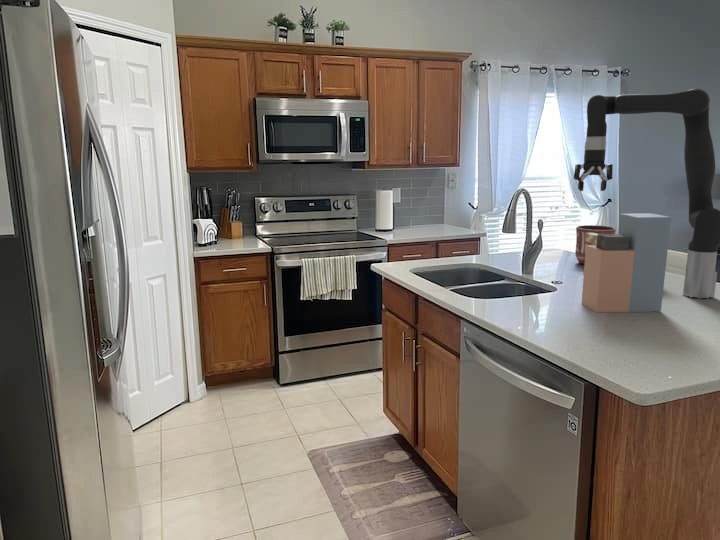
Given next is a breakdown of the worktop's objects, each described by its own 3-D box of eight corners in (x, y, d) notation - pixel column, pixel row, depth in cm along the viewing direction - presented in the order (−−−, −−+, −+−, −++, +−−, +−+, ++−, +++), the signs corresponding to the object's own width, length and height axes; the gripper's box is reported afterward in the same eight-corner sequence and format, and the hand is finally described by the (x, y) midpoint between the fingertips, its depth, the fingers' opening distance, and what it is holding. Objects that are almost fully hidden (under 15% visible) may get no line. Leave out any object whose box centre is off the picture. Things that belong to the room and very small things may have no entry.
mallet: (578, 240, 203) (579, 228, 202) (599, 240, 203) (600, 228, 202) (604, 250, 182) (605, 236, 181) (628, 250, 182) (629, 236, 181)
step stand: (642, 302, 197) (651, 213, 191) (660, 311, 186) (671, 217, 179) (581, 303, 197) (588, 213, 190) (596, 312, 185) (604, 217, 179)
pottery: (565, 262, 271) (568, 226, 267) (591, 259, 278) (594, 224, 274) (593, 269, 255) (597, 231, 251) (620, 266, 262) (624, 228, 258)
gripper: (581, 148, 210) (577, 191, 213) (617, 148, 210) (614, 191, 213) (573, 149, 217) (570, 190, 220) (608, 148, 217) (605, 190, 221)
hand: (591, 190), depth 217 cm, fingers open, 8 cm apart
